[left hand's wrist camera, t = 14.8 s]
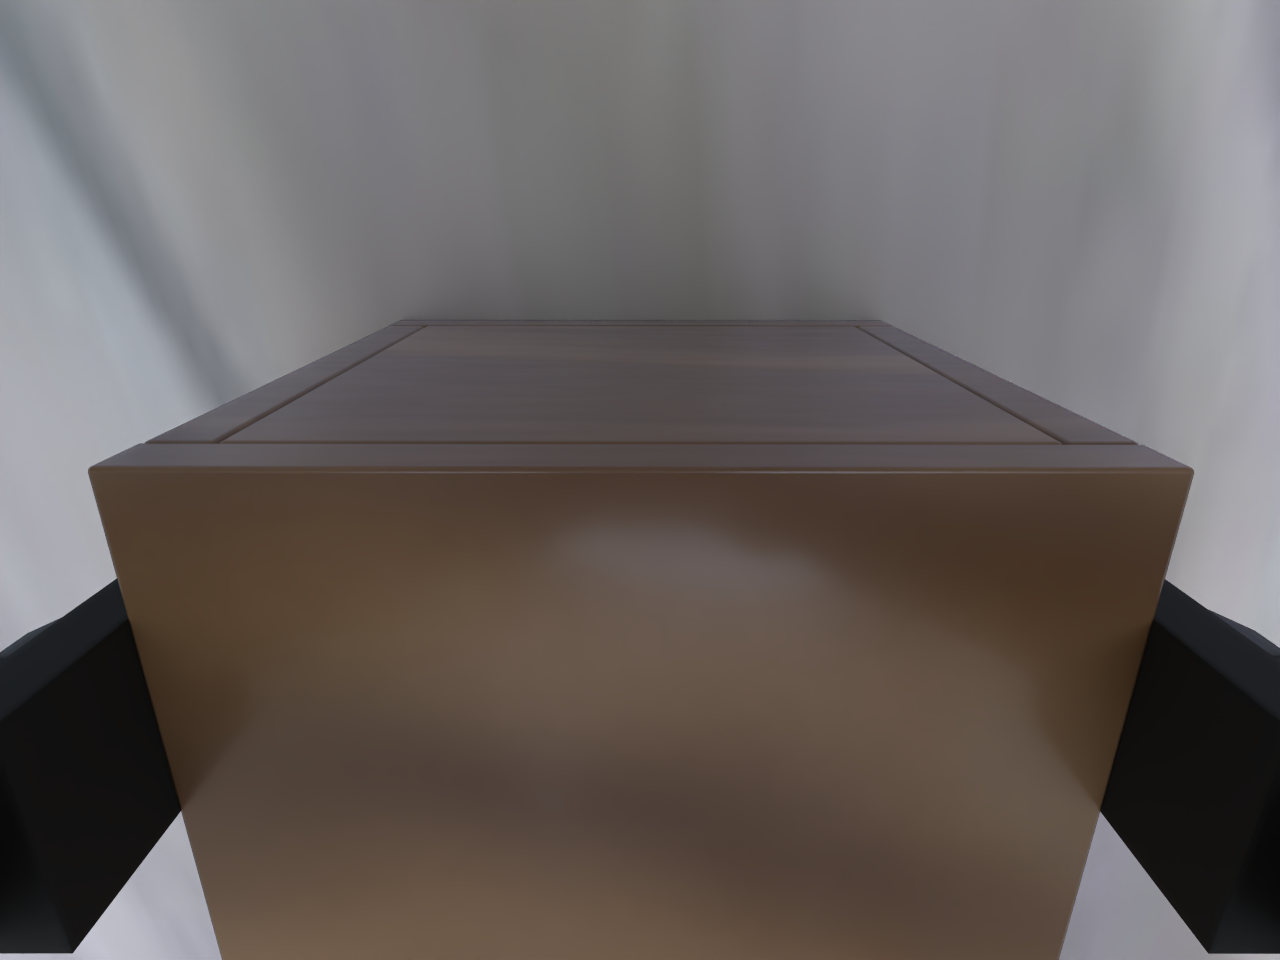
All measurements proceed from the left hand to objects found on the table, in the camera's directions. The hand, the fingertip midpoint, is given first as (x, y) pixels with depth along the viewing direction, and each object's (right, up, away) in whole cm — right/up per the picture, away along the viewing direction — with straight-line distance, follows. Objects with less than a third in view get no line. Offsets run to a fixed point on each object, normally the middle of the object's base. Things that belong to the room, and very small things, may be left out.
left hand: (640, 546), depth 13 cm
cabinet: (0, -5, +8) cm, 9 cm away
